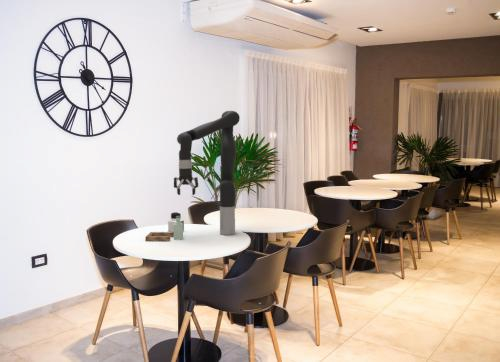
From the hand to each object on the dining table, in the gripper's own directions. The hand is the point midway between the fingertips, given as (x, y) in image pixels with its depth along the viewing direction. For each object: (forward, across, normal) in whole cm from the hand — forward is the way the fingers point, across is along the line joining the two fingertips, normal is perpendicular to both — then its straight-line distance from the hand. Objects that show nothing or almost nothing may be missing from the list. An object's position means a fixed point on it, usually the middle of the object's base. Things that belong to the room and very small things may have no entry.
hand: (186, 194), depth 277 cm
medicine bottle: (+26, +12, -17) cm, 34 cm away
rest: (+26, +15, +3) cm, 30 cm away
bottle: (+26, +5, +2) cm, 26 cm away
